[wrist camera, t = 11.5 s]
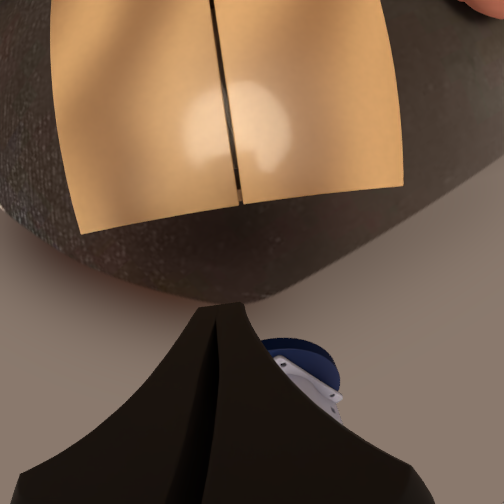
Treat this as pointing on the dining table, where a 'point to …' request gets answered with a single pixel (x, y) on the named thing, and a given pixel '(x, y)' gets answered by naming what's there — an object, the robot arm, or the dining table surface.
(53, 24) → the wooden box
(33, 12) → the dining table surface
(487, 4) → the teapot
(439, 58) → the dining table surface
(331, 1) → the flap
